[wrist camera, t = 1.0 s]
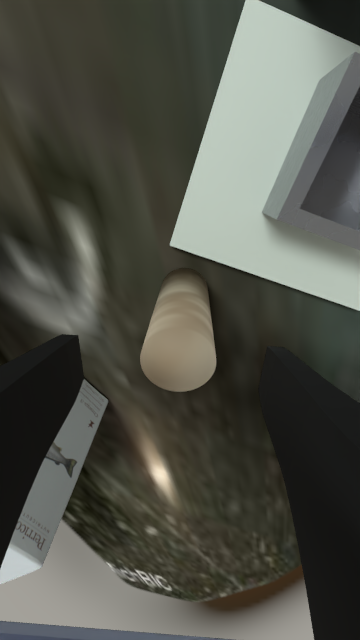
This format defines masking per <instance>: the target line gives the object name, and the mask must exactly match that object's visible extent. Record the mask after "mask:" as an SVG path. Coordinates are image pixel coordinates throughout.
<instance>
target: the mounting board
mask: <svg viewBox="0 0 360 640" xmlns="http://www.w3.org/2000/svg"><path fill="white" fill-rule="evenodd" d="M354 52H357V53H359V54H360V46H358V45H356V44H354V43H352V42H349V41H347V40H345V39H343V38H341V37H338V36H336V35H334V34H332V33H330V32H327V31H325V30H323V29H321V28H319V27H316V26H314V25H312V24H310V23H308V22H305V21H303V20H301V19H299V18H296V17H294V16H292V15H290V14H288V13H285V12H283V11H281V10H279V9H277V8H274V7H272V6H270V5H268V4H266V3H263V2H261V1H259V0H246V1H245V4H244V8H243V11H242V14H241V17H240V20H239V24H238V27H237V30H236V33H235V36H234V40H233V43H232V46H231V49H230V53H229V56H228V59H227V62H226V65H225V69H224V72H223V75H222V78H221V81H220V85H219V88H218V91H217V94H216V98H215V101H214V104H213V107H212V110H211V114H210V117H209V120H208V123H207V126H206V130H205V133H204V136H203V139H202V143H201V146H200V149H199V152H198V155H197V159H196V162H195V165H194V168H193V171H192V175H191V178H190V181H189V184H188V188H187V191H186V194H185V197H184V200H183V204H182V207H181V210H180V213H179V217H178V220H177V223H176V226H175V229H174V233H173V236H172V239H171V242H170V246H173V247H176V248H179V249H181V250H184V251H187V252H190V253H193V254H196V255H199V256H202V257H205V258H208V259H211V260H213V261H216V262H219V263H222V264H225V265H228V266H231V267H234V268H237V269H240V270H242V271H245V272H248V273H251V274H254V275H257V276H260V277H263V278H266V279H269V280H272V281H274V282H277V283H280V284H283V285H286V286H289V287H292V288H295V289H298V290H301V291H303V292H306V293H309V294H312V295H315V296H318V297H321V298H324V299H327V300H330V301H333V302H335V303H338V304H341V305H344V306H347V307H350V308H353V309H356V310H359V311H360V250H358V249H355V248H352V247H350V246H347V245H344V244H341V243H339V242H336V241H333V240H331V239H328V238H325V237H322V236H320V235H317V234H314V233H312V232H309V231H306V230H303V229H301V228H298V227H295V226H293V225H290V224H287V223H285V222H282V221H279V220H276V219H274V218H272V217H270V216H268V215H266V214H264V213H262V210H263V208H264V206H265V203H266V201H267V199H268V197H269V194H270V192H271V190H272V187H273V185H274V183H275V181H276V178H277V176H278V174H279V171H280V169H281V167H282V164H283V162H284V160H285V158H286V155H287V153H288V151H289V148H290V146H291V144H292V142H293V139H294V137H295V135H296V132H297V130H298V128H299V126H300V123H301V121H302V119H303V116H304V114H305V112H306V110H307V107H308V105H309V103H310V100H311V98H312V96H313V93H314V91H315V89H316V87H317V84H318V82H319V80H320V79H321V78H322V77H324V76H325V75H326V74H327V73H329V72H330V71H331V70H332V69H334V68H335V67H336V66H337V65H339V64H340V63H341V62H342V61H344V60H345V59H346V58H348V57H349V56H350V55H351V54H353V53H354Z"/></svg>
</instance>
